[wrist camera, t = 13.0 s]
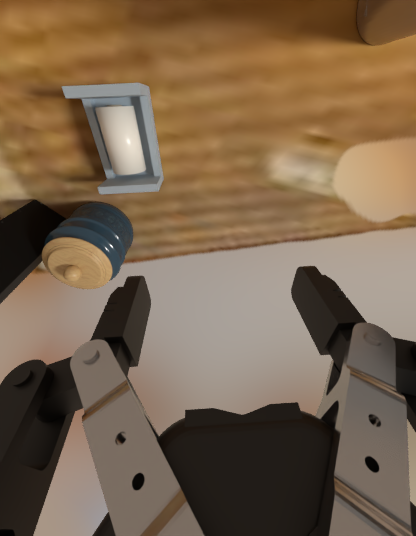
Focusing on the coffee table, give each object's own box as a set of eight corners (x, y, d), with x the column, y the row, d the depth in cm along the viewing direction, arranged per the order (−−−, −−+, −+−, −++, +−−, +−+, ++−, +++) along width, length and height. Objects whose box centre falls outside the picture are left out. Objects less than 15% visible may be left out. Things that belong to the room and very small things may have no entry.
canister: (146, 232, 49) (127, 283, 35) (110, 260, 53) (81, 315, 40) (98, 187, 42) (51, 228, 28) (62, 223, 47) (5, 274, 33)
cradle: (148, 86, 33) (138, 82, 27) (163, 178, 42) (158, 191, 36) (85, 89, 33) (61, 86, 27) (113, 181, 42) (100, 194, 36)
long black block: (21, 223, 46) (-136, 332, 24) (35, 198, 43) (-132, 297, 21) (58, 244, 50) (-49, 355, 28) (73, 222, 47) (-35, 329, 25)
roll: (90, 105, 32) (99, 105, 28) (126, 104, 35) (139, 103, 31) (109, 171, 38) (119, 178, 34) (139, 166, 40) (151, 171, 37)
